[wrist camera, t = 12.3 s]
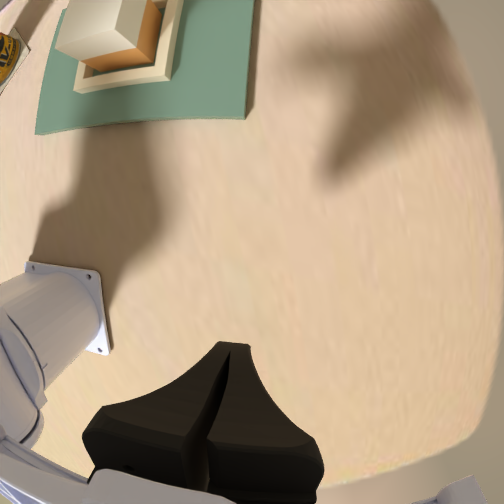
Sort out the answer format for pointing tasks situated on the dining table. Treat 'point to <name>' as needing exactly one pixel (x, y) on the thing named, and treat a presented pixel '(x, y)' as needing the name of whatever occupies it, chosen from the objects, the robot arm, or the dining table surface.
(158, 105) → the base plate
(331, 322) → the dining table surface
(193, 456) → the robot arm
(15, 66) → the condiment
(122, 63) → the brick stack
